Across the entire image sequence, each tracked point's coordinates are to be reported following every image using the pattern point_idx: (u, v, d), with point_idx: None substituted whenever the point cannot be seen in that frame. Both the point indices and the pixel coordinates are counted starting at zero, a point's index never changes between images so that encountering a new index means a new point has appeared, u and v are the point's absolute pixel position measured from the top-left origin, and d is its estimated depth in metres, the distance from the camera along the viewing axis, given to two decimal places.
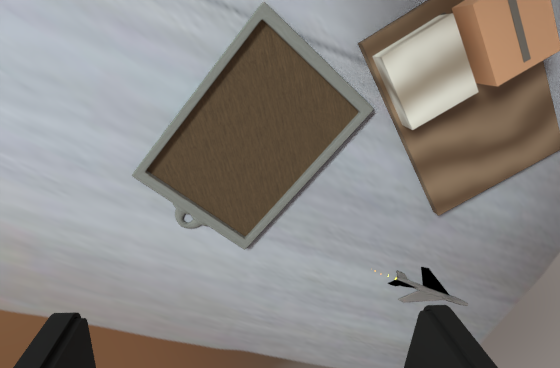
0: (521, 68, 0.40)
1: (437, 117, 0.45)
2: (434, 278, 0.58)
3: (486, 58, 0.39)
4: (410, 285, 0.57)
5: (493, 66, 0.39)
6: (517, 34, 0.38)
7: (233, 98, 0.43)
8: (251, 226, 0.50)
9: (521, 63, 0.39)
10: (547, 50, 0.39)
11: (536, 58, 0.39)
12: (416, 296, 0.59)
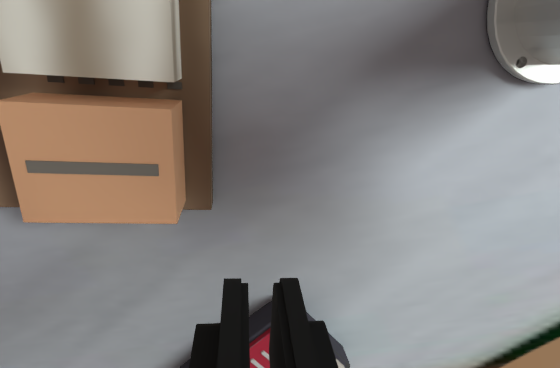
0: (15, 153, 0.21)
1: None
2: None
3: (63, 103, 0.20)
4: None
5: (41, 106, 0.20)
6: (84, 163, 0.22)
7: None
8: None
9: (24, 156, 0.21)
10: (31, 202, 0.22)
11: (24, 182, 0.22)
12: None
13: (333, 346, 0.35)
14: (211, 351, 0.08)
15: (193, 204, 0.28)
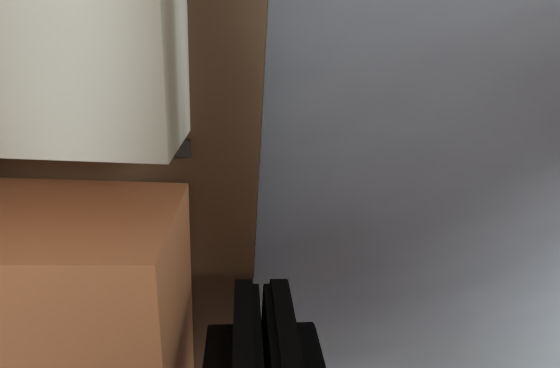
0: None
1: None
2: None
3: None
4: None
5: None
6: None
7: None
8: None
9: None
10: None
11: None
12: None
13: None
14: (223, 352, 0.08)
15: None
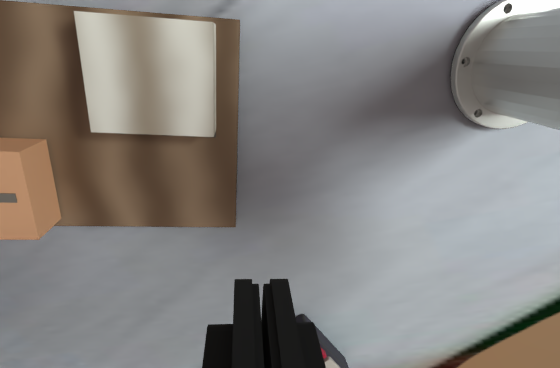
0: None
1: (77, 72, 0.29)
2: None
3: None
4: None
5: None
6: None
7: None
8: None
9: None
10: None
11: None
12: None
13: (338, 357, 0.44)
14: (223, 352, 0.08)
15: (221, 223, 0.36)
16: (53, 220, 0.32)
